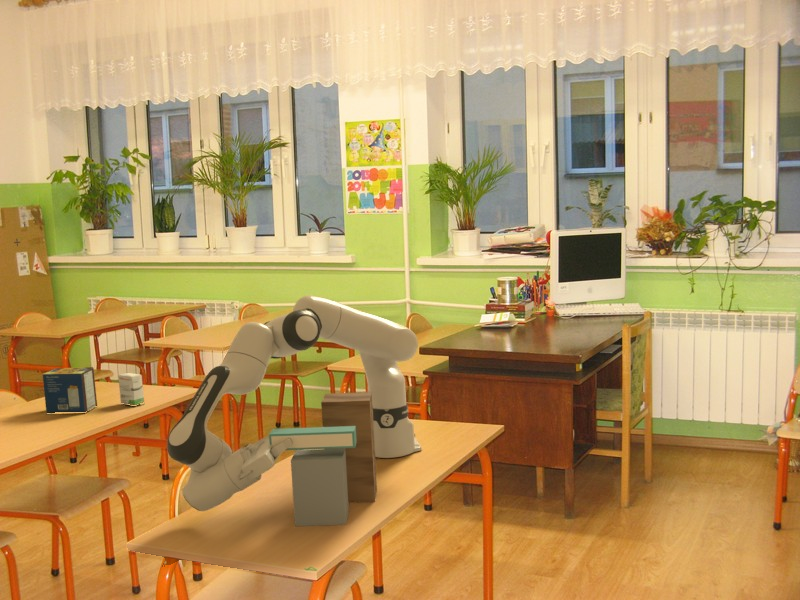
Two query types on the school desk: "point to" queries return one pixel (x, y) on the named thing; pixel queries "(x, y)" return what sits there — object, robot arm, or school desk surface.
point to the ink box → (131, 388)
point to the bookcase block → (362, 457)
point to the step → (320, 487)
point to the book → (315, 437)
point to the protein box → (69, 390)
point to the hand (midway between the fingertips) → (293, 437)
